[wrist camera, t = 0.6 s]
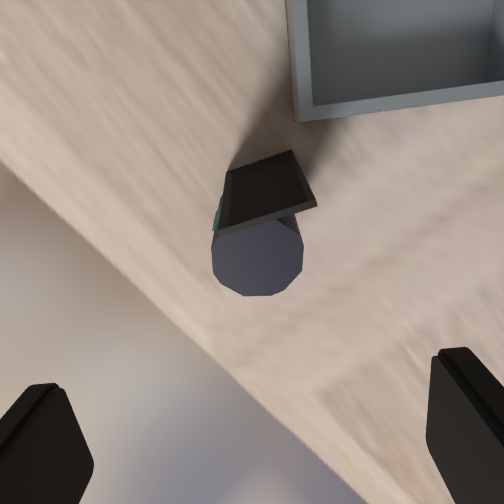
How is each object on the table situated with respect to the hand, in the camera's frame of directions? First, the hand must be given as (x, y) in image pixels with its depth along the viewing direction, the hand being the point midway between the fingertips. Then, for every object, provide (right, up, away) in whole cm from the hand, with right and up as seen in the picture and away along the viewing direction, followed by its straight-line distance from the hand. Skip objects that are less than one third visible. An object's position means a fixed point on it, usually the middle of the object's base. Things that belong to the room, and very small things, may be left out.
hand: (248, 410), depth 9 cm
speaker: (+1, +8, +19) cm, 21 cm away
